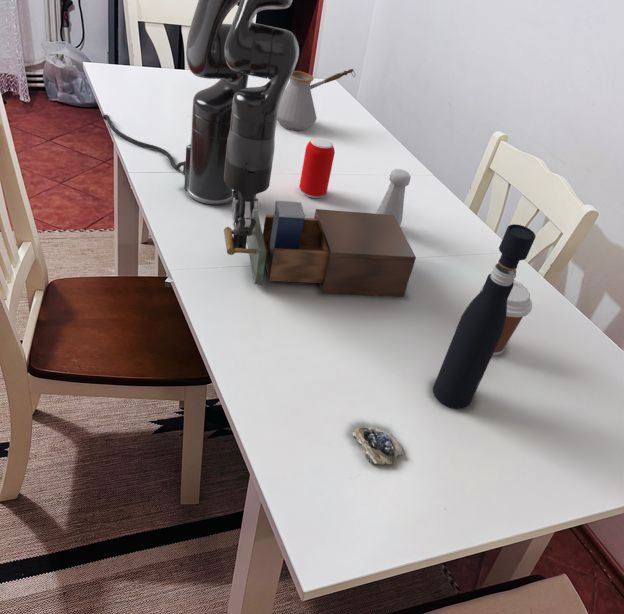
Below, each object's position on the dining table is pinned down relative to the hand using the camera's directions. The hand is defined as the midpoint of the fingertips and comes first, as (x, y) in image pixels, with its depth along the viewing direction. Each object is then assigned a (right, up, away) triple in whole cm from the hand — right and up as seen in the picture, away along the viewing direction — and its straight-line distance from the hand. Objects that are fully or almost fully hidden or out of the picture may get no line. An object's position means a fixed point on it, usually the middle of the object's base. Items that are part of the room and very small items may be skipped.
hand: (238, 248), depth 117 cm
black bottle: (+36, -25, -12) cm, 46 cm away
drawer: (+6, -2, +4) cm, 8 cm away
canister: (+7, -1, +4) cm, 8 cm away
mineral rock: (+23, -32, -24) cm, 46 cm away
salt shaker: (+28, +8, +25) cm, 38 cm away
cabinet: (+21, -3, +9) cm, 23 cm away
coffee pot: (+9, +42, +60) cm, 74 cm away
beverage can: (+11, +17, +30) cm, 36 cm away
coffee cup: (+44, -17, 0) cm, 47 cm away
